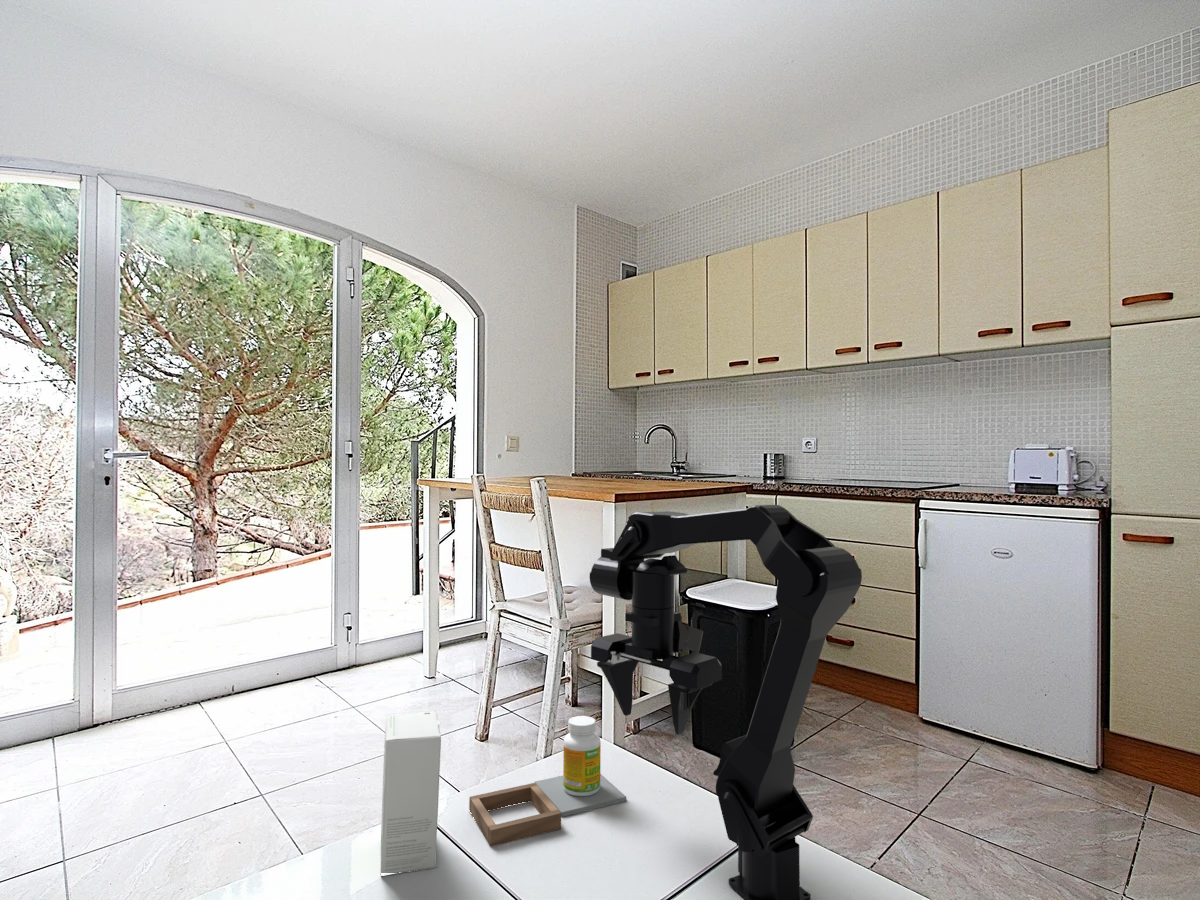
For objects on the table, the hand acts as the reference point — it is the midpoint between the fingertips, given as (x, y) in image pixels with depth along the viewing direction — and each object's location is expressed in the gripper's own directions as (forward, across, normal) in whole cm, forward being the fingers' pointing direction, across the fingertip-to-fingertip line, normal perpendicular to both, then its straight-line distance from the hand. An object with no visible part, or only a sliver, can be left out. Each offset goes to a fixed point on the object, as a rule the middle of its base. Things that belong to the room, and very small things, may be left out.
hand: (652, 724), depth 87 cm
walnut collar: (+13, +13, +13) cm, 22 cm away
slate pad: (+13, +13, +1) cm, 18 cm away
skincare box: (+13, +16, +27) cm, 34 cm away
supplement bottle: (+13, +13, +1) cm, 18 cm away
